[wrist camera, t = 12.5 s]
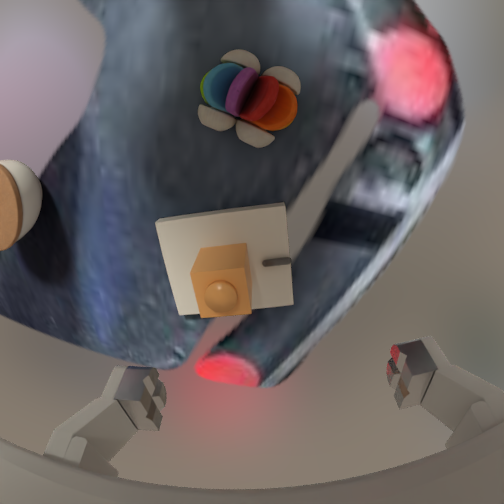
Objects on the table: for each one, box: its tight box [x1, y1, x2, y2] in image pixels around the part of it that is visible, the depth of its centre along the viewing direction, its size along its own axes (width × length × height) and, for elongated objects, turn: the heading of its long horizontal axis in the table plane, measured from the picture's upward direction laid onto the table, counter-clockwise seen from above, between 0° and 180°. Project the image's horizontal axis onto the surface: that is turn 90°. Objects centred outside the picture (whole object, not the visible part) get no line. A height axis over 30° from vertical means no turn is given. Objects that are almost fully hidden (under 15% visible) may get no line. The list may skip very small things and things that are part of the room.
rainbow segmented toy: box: [198, 49, 301, 148], centre depth 25 cm, size 8×10×7 cm
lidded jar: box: [0, 160, 42, 251], centre depth 27 cm, size 11×11×9 cm
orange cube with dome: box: [190, 243, 252, 318], centre depth 30 cm, size 5×5×7 cm
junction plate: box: [155, 202, 294, 315], centre depth 32 cm, size 12×14×6 cm
